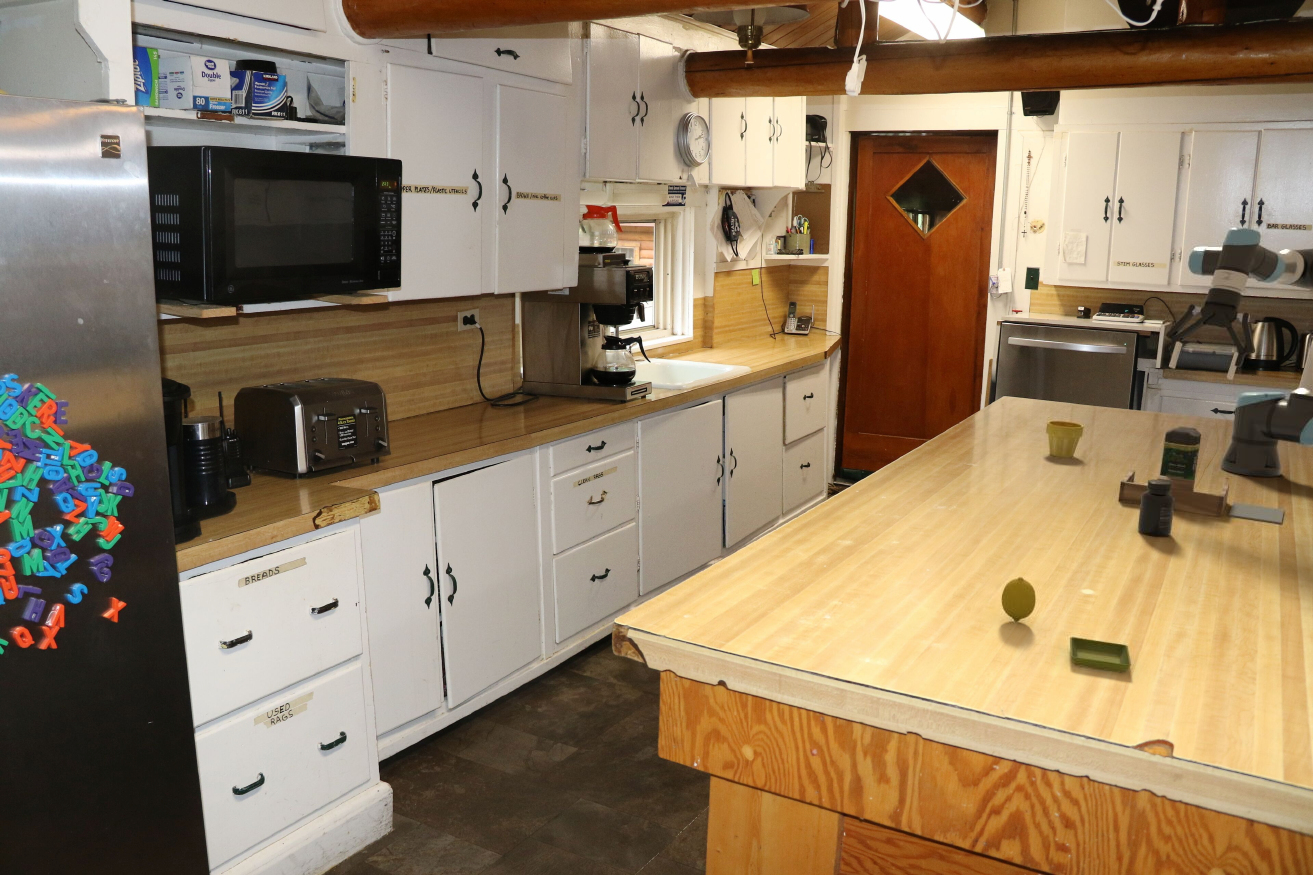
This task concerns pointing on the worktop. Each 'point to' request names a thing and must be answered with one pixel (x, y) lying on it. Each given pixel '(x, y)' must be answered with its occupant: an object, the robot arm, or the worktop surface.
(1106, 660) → the green tray
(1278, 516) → the mat
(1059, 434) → the plant pot
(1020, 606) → the lemon
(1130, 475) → the wooden open enclosure
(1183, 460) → the coffee jar
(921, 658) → the worktop surface
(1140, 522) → the supplement bottle
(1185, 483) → the offcut top
